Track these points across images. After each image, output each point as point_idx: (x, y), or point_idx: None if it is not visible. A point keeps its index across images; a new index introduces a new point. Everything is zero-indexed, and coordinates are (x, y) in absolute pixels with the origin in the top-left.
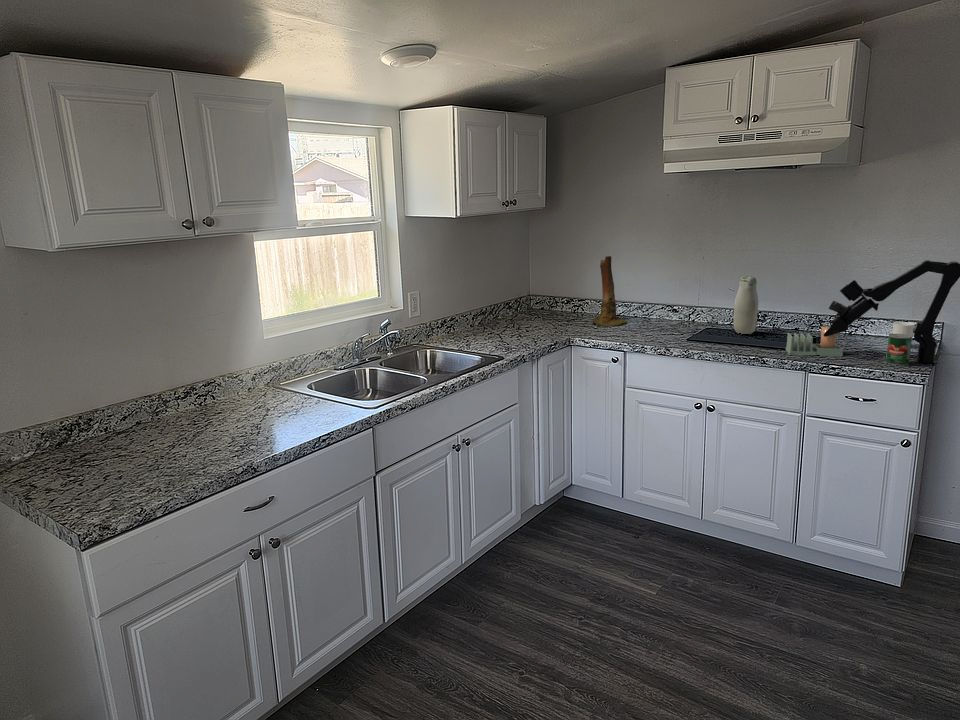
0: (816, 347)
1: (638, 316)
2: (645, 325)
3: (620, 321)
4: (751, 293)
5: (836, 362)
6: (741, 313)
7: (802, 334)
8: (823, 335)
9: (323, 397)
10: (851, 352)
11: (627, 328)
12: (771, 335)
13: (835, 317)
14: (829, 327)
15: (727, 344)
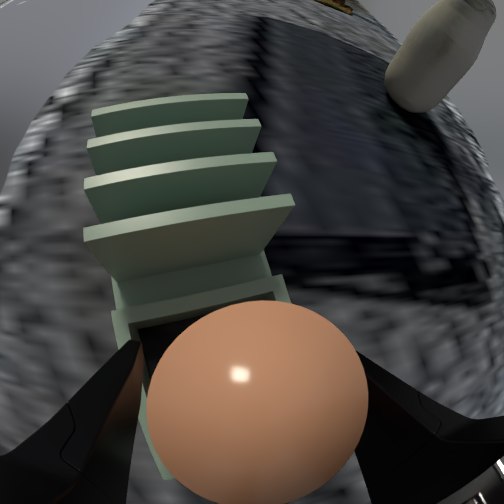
0: (154, 306)
1: (394, 36)
2: (346, 19)
3: (330, 2)
4: (455, 16)
5: (14, 407)
6: (406, 41)
7: (218, 160)
8: (132, 343)
9: (5, 4)
10: None
11: (308, 2)
12: (435, 158)
13: (499, 455)
14: (286, 414)
15: (249, 46)
